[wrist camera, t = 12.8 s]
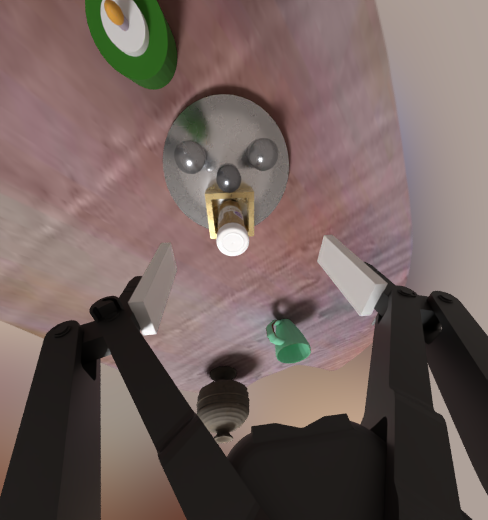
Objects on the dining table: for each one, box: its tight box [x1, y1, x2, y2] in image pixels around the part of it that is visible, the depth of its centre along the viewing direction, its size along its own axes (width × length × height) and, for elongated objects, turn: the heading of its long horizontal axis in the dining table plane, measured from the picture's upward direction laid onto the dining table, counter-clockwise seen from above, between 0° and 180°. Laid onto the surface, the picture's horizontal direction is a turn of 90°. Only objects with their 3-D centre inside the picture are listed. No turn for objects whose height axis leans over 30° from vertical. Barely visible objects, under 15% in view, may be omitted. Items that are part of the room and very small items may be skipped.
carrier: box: [163, 94, 289, 239], centre depth 33 cm, size 22×22×6 cm
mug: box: [266, 319, 311, 363], centre depth 55 cm, size 15×10×10 cm
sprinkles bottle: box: [217, 200, 249, 256], centre depth 31 cm, size 5×5×13 cm
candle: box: [85, 0, 177, 89], centre depth 21 cm, size 8×8×10 cm
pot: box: [197, 366, 249, 443], centre depth 65 cm, size 18×18×20 cm
